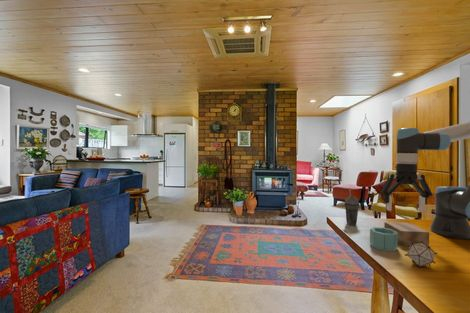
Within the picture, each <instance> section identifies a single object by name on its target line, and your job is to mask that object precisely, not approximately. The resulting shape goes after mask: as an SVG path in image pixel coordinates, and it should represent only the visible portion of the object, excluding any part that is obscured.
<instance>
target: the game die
mask: <svg viewBox="0 0 470 313" xmlns="http://www.w3.org/2000/svg"><path fill="white" fill-rule="evenodd" d="M411 244H412V245H411V246H410V247H409V246H407V248H408V251H407V253H406V254H404V256H406V257H407V256H408V257H409V258H410V260H411V262H412V263H415V264H416V265H418V267H417V268H418V269H420V268H421V267H422V266H423V267H424V266H428V267H432V265H431V264H436V261H434V260H435V255H438V252H434V251H433V250H432V249H431V246H430V245H429V247H427V246H426V245H424V244H423V241H421V243H416V244H413V243H412V242H411Z"/></svg>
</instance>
